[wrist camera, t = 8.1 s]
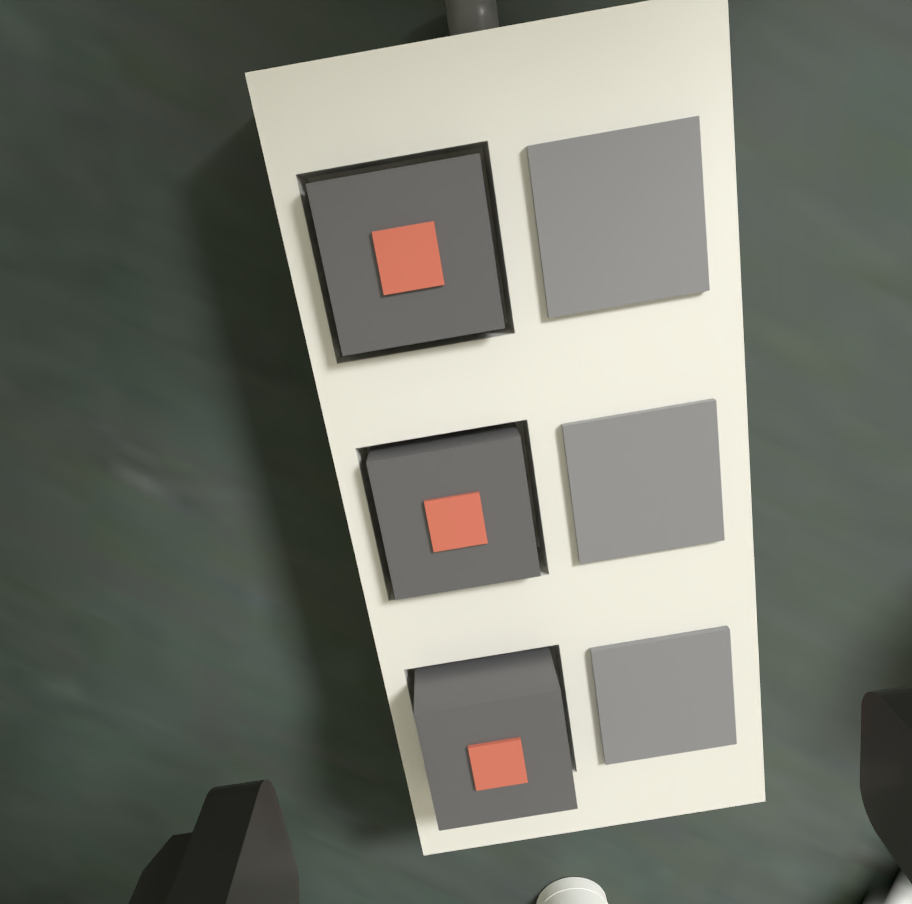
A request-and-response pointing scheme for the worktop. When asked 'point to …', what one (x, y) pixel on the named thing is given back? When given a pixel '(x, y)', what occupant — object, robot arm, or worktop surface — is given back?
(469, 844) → the power strip
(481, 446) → the button middle
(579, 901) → the white stemmed cylinder
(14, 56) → the worktop surface
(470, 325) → the button near
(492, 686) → the button far
